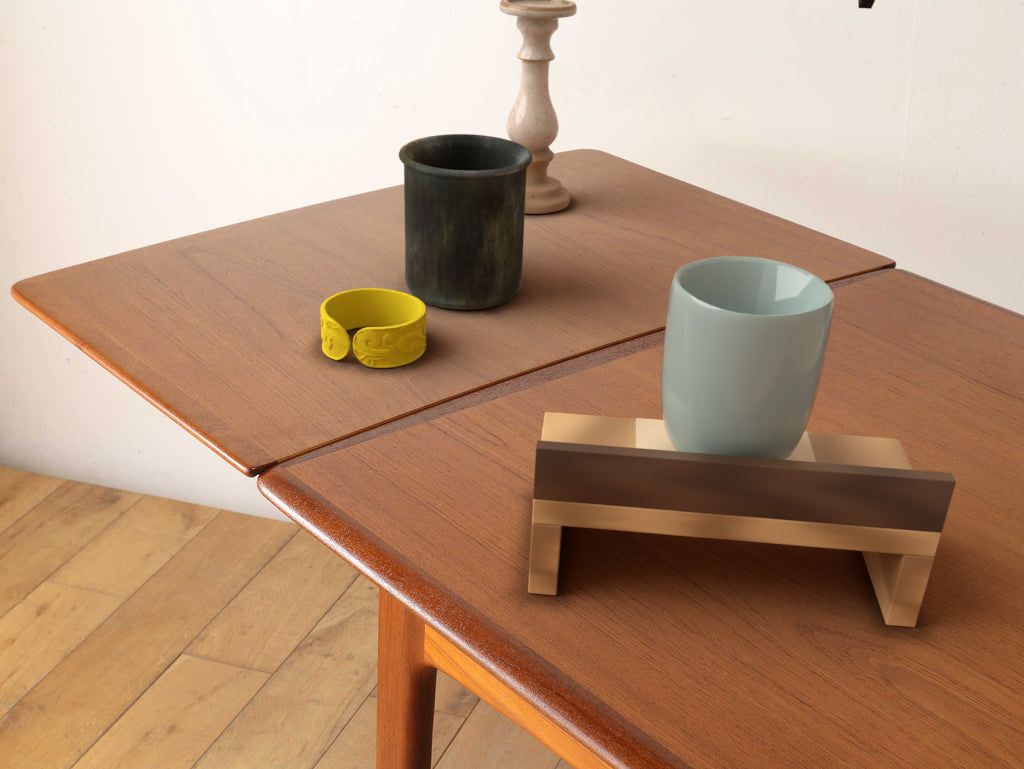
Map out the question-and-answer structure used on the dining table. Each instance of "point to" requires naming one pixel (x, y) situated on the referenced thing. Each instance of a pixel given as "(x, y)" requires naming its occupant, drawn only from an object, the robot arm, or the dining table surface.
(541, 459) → the shelf
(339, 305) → the bracelet
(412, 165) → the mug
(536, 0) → the candle holder
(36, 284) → the dining table surface
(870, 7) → the robot arm
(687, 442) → the cup
